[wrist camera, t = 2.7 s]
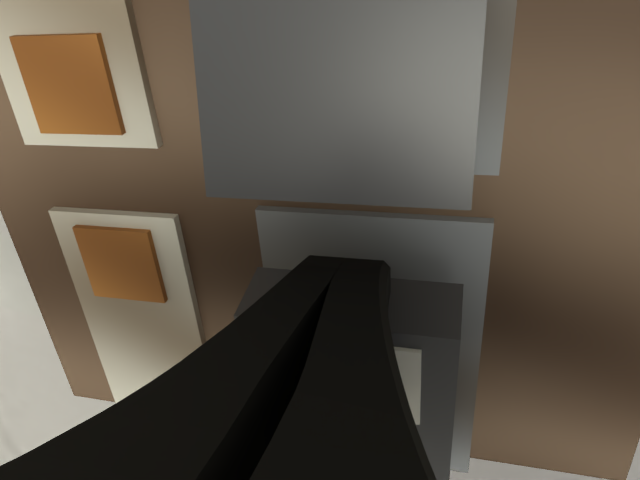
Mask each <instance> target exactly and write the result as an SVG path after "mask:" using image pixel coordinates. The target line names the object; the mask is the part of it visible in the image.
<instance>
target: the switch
mask: <svg viewBox="0 0 640 480" xmlns="http://www.w3.org/2000/svg"><path fill="white" fill-rule="evenodd" d="M290 271H291V270H288V269H276V268H264V267H257V269H256V271H255V273H254V275H253V277H252V279H251V281H250V284H249V286H248V288H247V290H246V292H245V294H244V296H243V298H242V300H241V302H240V304H239V306H238V308H237V310H236V312H235V314H234V319H236V318H237V317H238V316H239V315H241V314H242V313H243V312H244V311H245V310H246V309H248V308H249V307H250V306H251V305H252V304H254V303H255V302H256V301H257V300H258V299H259V298H261V297H262V296H263V295H264V294H265V293H266V292H267V291H269V290H270V289H271V288H272V287H273V286H274V285H275V284H277V283H278V282H279V281H280V280H281V279H282V278H283V277H285V276H286V275H287V274H288V273H289V272H290ZM463 286H464V284H456V283H444V282H432V281H420V280H408V279H396V278H391V293H390V299H389V306H388V317H389V324H390V330H391V335H392V340H393V345H394V350H395V355H396V359H397V363H398V367H399V371H400V375H401V378H402V382H403V385H404V389H405V392H406V396H407V399H408V403H409V406H410V409H411V412H412V415H413V418H414V421H415V424H416V427H417V430H418V433H419V435H420V438H421V441H422V443H423V446H424V449H425V452H426V454H427V457H428V460H429V462H430V465H431V467H432V469H433V472H434V474H435V477H436V479H437V480H449V475H450V463H451V451H452V439H453V427H454V415H455V403H456V391H457V379H458V367H459V355H460V343H461V325H462V306H463Z"/></svg>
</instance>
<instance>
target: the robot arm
mask: <svg viewBox="0 0 640 480" xmlns="http://www.w3.org/2000/svg"><path fill="white" fill-rule="evenodd" d="M390 293H391V267H390V266H389V265H388V264H387V263H386V262H385V261H384V260H370V259H356V258H343V257H329V256H315V255H309V256H308V257H307V258H305V259H304V260H303V261H302V262H301V263H300V264H298V265H297V266H296V267H295V268H294V269H293V270H291V271H290V272H289V273H288V274H287V275H286V276H285V277H283V278H282V279H281V280H280V281H279V282H278V283H277V284H275V285H274V286H273V287H272V288H271V289H270V290H269V291H267V292H266V293H265V294H264V295H263V296H262V297H261V298H259V299H258V300H257V301H256V302H255V303H254V304H252V305H251V306H250V307H249V308H248V309H246V310H245V311H244V312H243V313H242V314H241V315H239V316H238V317H237V318H236V319H235V320H233V321H232V322H231V323H230V324H229V325H227V326H226V327H225V328H224V329H222V330H221V331H220V332H218V333H217V334H216V335H214V336H213V337H212V338H210V339H209V340H208V341H206V342H205V343H204V344H202V345H201V346H200V347H198V348H197V349H196V350H195V351H193V352H192V353H191V354H189V355H188V356H187V357H185V358H184V359H183V360H181V361H180V362H179V363H177V364H176V365H174V366H173V367H171V368H170V369H169V370H167V371H166V372H164V373H163V374H161V375H160V376H158V377H157V378H155V379H154V380H152V381H151V382H149V383H148V384H146V385H145V386H143V387H141V388H140V389H138V390H137V391H135V392H133V393H132V394H130V395H129V396H127V397H125V398H124V399H122V400H121V401H119V402H118V403H116V404H114V405H113V406H111V407H109V408H108V409H106V410H104V411H103V412H101V413H99V414H97V415H95V416H94V417H92V418H90V419H88V420H86V421H84V422H83V423H81V424H79V425H77V426H75V427H73V428H72V429H70V430H68V431H66V432H64V433H63V434H61V435H59V436H57V437H55V438H53V439H52V440H50V441H48V442H46V443H44V444H42V445H41V446H39V447H37V448H35V449H33V450H31V451H30V452H28V453H26V454H24V455H22V456H20V457H18V458H16V459H14V460H12V461H10V462H8V463H6V464H3V465H1V466H0V480H437V479H436V477H435V474H434V472H433V469H432V467H431V465H430V462H429V460H428V457H427V454H426V452H425V449H424V446H423V443H422V441H421V438H420V435H419V433H418V430H417V427H416V424H415V421H414V418H413V415H412V412H411V409H410V406H409V403H408V399H407V396H406V392H405V389H404V385H403V382H402V378H401V375H400V371H399V367H398V363H397V359H396V355H395V350H394V345H393V340H392V335H391V330H390V324H389V317H388V306H389V299H390Z"/></svg>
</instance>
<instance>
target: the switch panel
mask: <svg viewBox="0 0 640 480" xmlns="http://www.w3.org/2000/svg"><path fill="white" fill-rule="evenodd" d="M0 211H1V213H2V216H3V218H4V221H5V223H6V226H7V228H8V231H9V233H10V236H11V238H12V241H13V243H14V246H15V248H16V251H17V253H18V256H19V258H20V261H21V263H22V266H23V268H24V271H25V273H26V276H27V278H28V281H29V283H30V286H31V288H32V291H33V293H34V296H35V298H36V301H37V303H38V306H39V308H40V311H41V313H42V316H43V319H44V321H45V324H46V326H47V329H48V331H49V334H50V336H51V339H52V341H53V344H54V346H55V349H56V351H57V354H58V356H59V359H60V361H61V364H62V366H63V369H64V371H65V374H66V376H67V379H68V381H69V384H70V386H71V389H72V391H73V394H74V395H75V396H81V397H87V398H94V399H100V400H106V401H113V402H115V403H118V402H119V401H121V400H122V399H124V398H125V397H127V396H129V395H130V394H132V393H133V392H135V391H137V390H138V389H140V388H141V387H143V386H145V385H146V384H148V383H149V382H151V381H152V380H154V379H155V378H157V377H158V376H160V375H161V374H163V373H164V372H166V371H167V370H169V369H170V368H171V367H173V366H174V365H176V364H177V363H179V362H180V361H181V360H183V359H184V358H185V357H187V356H188V355H189V354H191V353H192V352H193V351H195V350H196V349H197V348H198V347H200V346H201V345H202V344H204V343H205V342H206V341H208V340H209V339H210V338H212V337H213V336H214V335H216V334H217V333H218V332H220V331H221V330H222V329H224V328H225V327H226V326H227V325H229V324H230V323H231V322H232V321H233V320H235V319H234V314H235V312H236V310H237V308H238V306H239V304H240V302H241V300H242V298H243V296H244V294H245V292H246V290H247V288H248V286H249V284H250V281H251V279H252V277H253V275H254V273H255V271H256V269H257V267H264V268H276V269H288V270H293V269H294V268H295V267H296V266H297V265H298V264H300V263H301V262H302V261H303V260H304V259H305V258H307V257H308V256H309V255H315V256H329V257H343V258H356V259H370V260H384V261H385V262H386V263H387V264H388V265H389V266H390V267H391V278H396V279H408V280H420V281H432V282H444V283H456V284H464V286H463V306H462V325H461V343H460V355H459V367H458V379H457V391H456V403H455V415H454V427H453V439H452V451H451V463H450V470H453V471H459V472H465V473H468V469H469V459H470V458H477V459H483V460H490V461H496V462H502V463H509V464H515V465H521V466H528V467H534V468H541V469H547V470H553V471H560V472H566V473H573V474H579V475H585V476H592V477H598V478H604V479H611V480H626V478H627V475H628V472H629V469H630V466H631V463H632V460H633V456H634V453H635V450H636V447H637V444H638V441H639V438H640V0H487V8H486V22H485V35H484V48H483V61H482V75H481V88H480V101H479V115H478V128H477V141H476V154H475V168H474V181H473V194H472V208H471V210H451V209H432V208H413V207H393V206H374V205H354V204H335V203H316V202H296V201H277V200H257V199H238V198H219V197H206V189H205V178H204V166H203V155H202V144H201V133H200V122H199V110H198V99H197V88H196V77H195V66H194V55H193V43H192V32H191V21H190V10H189V0H0Z"/></svg>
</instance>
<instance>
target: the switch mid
mask: <svg viewBox="0 0 640 480" xmlns="http://www.w3.org/2000/svg"><path fill="white" fill-rule="evenodd" d="M486 8H487V0H189V10H190V21H191V32H192V43H193V55H194V66H195V77H196V88H197V99H198V110H199V122H200V133H201V144H202V155H203V166H204V178H205V189H206V197H219V198H238V199H257V200H277V201H296V202H316V203H335V204H354V205H374V206H393V207H413V208H432V209H451V210H471V208H472V194H473V181H474V168H475V154H476V141H477V128H478V115H479V101H480V88H481V75H482V61H483V48H484V35H485V22H486Z"/></svg>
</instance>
